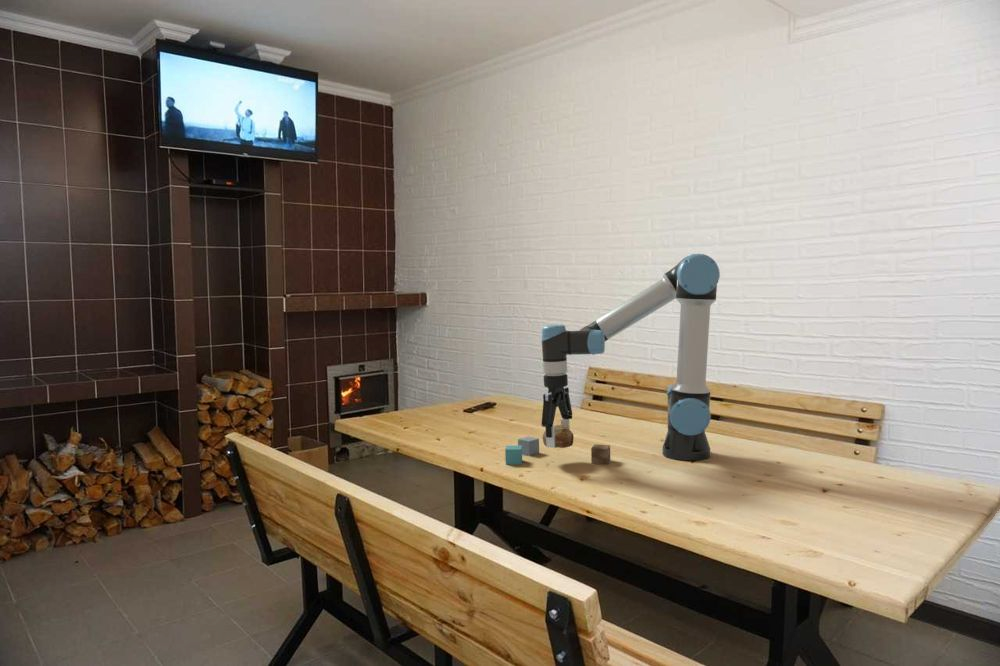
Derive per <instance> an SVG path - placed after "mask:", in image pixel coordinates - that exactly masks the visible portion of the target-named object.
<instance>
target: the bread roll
mask: <svg viewBox="0 0 1000 666" xmlns="http://www.w3.org/2000/svg"><path fill="white" fill-rule="evenodd" d="M553 427H554V430H555V449H556V448H557V449H558V448H559V449H560V448H561V449H564V448H570V447H572V446H573V444H574V433H573V431H572V430H571V429H570V430H569V429H568V428H567V427H565V426H562V425H561V424H557V425H553ZM542 441H543V445H544V446H545V447H546V429H545V430H544V432H543V434H542Z"/></svg>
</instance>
